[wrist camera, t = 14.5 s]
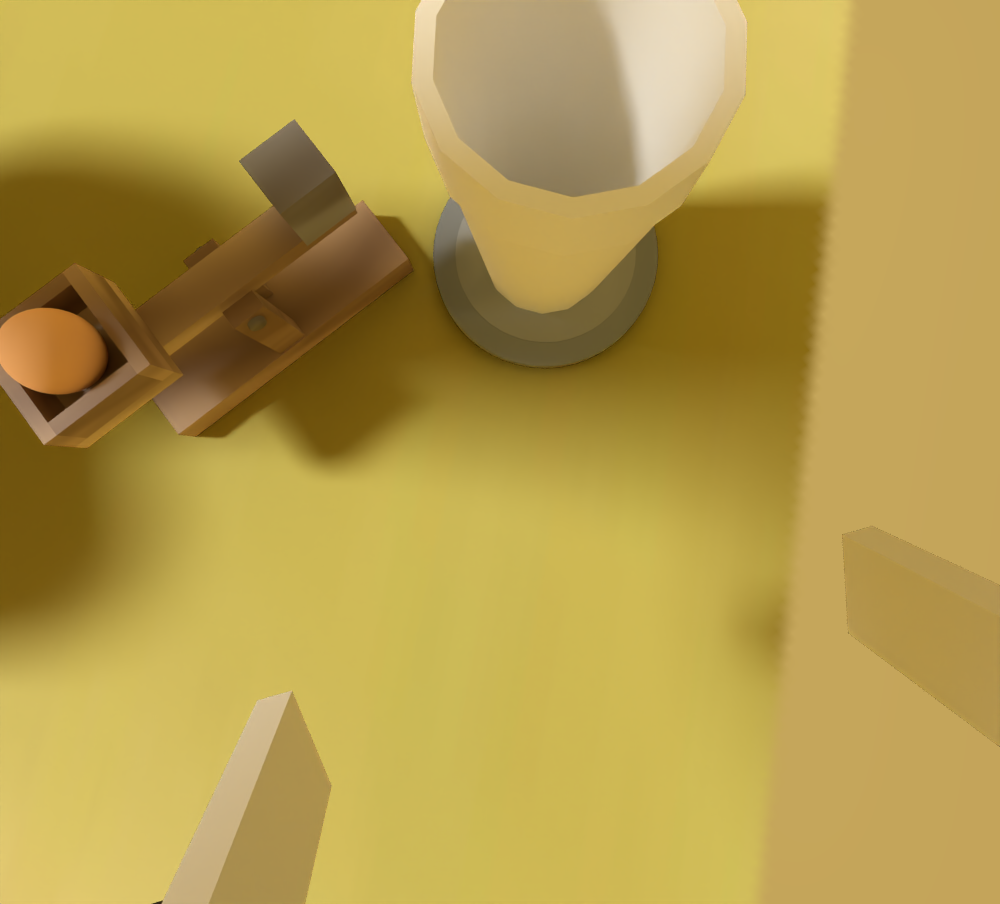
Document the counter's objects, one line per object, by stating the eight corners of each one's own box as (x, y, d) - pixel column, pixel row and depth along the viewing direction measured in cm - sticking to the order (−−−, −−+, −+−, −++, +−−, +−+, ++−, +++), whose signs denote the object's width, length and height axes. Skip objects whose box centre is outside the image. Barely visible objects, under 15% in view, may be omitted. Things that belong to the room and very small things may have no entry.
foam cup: (565, 136, 28) (617, -169, 15) (668, 272, 27) (817, 83, 14) (421, 237, 27) (344, 21, 14) (523, 376, 27) (538, 283, 14)
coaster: (392, 242, 28) (388, 234, 27) (562, 112, 29) (564, 100, 28) (525, 412, 28) (525, 410, 27) (698, 278, 28) (704, 271, 27)
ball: (35, 354, 21) (-50, 332, 18) (98, 307, 21) (24, 276, 18) (80, 416, 21) (2, 404, 18) (143, 368, 21) (77, 348, 18)
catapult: (133, 383, 28) (-48, 337, 19) (364, 207, 28) (296, 79, 19) (186, 454, 28) (28, 443, 19) (419, 277, 28) (376, 180, 19)
